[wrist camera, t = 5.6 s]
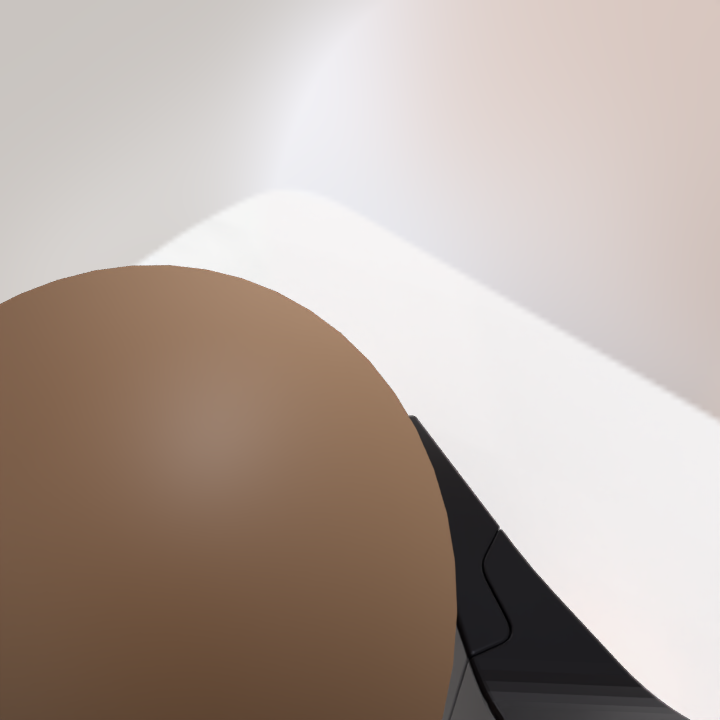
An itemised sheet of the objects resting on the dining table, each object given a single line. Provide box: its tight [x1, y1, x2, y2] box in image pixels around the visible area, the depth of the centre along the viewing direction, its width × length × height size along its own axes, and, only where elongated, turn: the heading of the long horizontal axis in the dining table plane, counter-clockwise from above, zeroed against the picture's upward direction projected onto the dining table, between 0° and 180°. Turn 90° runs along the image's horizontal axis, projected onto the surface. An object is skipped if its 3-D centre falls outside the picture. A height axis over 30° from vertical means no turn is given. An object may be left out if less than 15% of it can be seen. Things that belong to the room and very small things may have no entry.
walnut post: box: [0, 265, 457, 720], centre depth 9 cm, size 5×5×13 cm
